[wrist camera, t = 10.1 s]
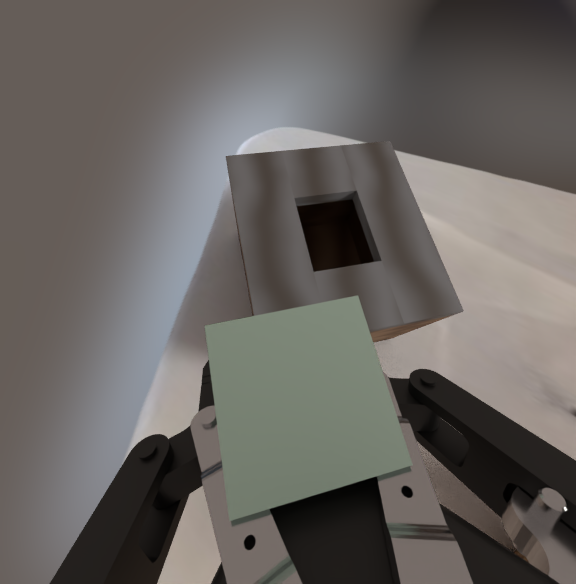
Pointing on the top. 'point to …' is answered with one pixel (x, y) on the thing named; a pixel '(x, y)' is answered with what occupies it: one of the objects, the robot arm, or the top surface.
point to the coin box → (338, 236)
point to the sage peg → (300, 405)
